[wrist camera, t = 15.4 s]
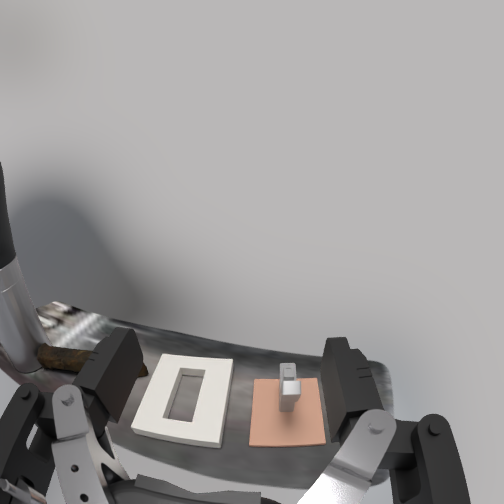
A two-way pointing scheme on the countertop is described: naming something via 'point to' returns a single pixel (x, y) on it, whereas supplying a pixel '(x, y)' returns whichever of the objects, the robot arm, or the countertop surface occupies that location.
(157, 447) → the countertop surface
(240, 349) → the countertop surface
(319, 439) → the mat
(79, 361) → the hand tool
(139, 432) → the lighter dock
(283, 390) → the lighter
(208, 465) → the countertop surface
